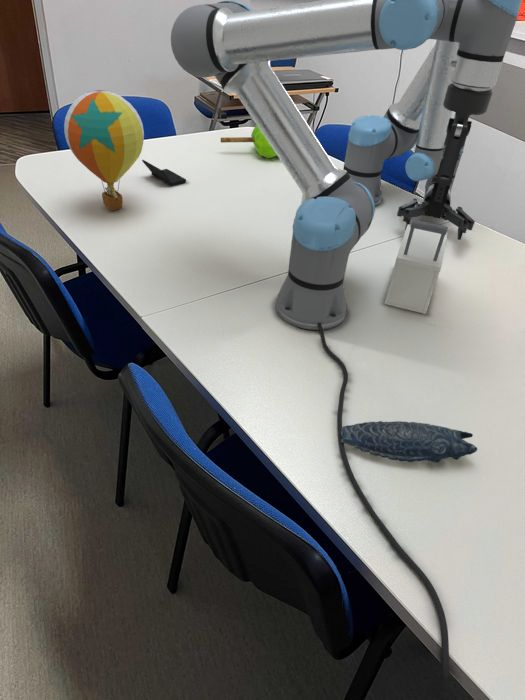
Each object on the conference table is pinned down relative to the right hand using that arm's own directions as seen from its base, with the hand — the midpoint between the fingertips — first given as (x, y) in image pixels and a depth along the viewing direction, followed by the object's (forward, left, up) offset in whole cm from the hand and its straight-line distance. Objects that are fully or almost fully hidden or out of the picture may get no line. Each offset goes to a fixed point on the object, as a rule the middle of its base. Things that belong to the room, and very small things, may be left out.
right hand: (434, 230), depth 135 cm
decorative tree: (-72, -39, -6) cm, 82 cm away
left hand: (+26, -14, +18) cm, 35 cm away
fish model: (+68, -28, -6) cm, 73 cm away
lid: (+20, -11, +5) cm, 24 cm away
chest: (+20, -11, -6) cm, 24 cm away
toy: (-21, -85, -6) cm, 87 cm away
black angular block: (-43, -72, -6) cm, 84 cm away
